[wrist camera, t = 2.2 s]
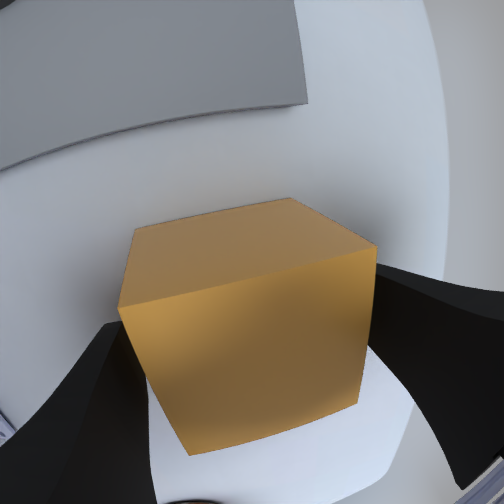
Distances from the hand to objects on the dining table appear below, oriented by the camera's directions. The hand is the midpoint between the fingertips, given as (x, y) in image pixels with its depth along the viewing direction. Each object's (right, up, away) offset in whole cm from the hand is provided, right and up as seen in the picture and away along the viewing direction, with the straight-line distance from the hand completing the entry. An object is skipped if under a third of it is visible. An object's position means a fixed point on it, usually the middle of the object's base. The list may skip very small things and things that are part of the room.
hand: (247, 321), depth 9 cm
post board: (-8, +11, -4) cm, 15 cm away
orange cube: (-1, +1, +2) cm, 3 cm away
